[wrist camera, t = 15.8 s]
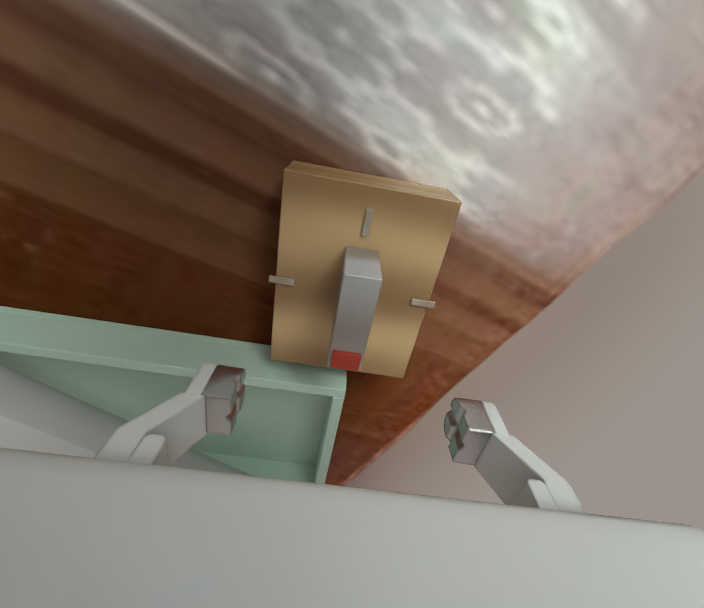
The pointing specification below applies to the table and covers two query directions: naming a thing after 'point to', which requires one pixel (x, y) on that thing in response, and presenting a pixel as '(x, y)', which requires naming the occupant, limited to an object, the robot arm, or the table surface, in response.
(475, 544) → the robot arm
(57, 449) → the tube
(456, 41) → the table surface
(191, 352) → the green tray
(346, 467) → the table surface
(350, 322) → the tap knob
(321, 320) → the panel
